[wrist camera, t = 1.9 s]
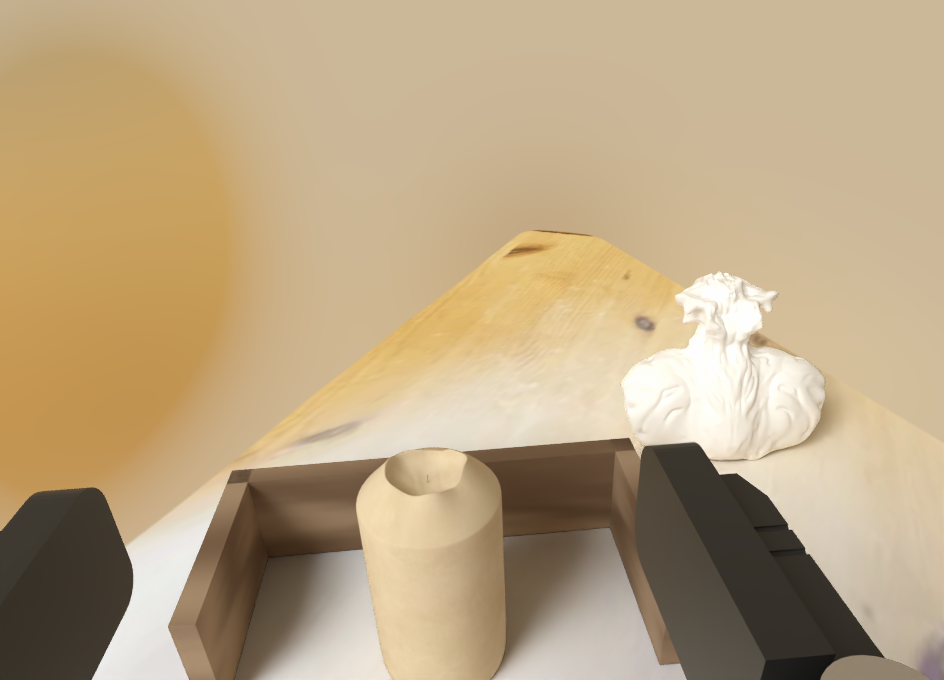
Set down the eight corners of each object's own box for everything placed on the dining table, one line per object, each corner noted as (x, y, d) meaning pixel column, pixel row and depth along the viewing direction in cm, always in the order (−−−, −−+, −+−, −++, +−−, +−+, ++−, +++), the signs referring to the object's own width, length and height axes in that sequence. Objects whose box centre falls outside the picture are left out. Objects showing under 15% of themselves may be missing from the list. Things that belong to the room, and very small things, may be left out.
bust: (800, 458, 41) (783, 290, 43) (863, 460, 34) (839, 257, 36) (613, 460, 42) (605, 295, 44) (635, 462, 35) (624, 263, 36)
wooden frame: (253, 544, 34) (232, 470, 31) (623, 512, 35) (629, 437, 32) (201, 709, 26) (167, 626, 24) (683, 662, 27) (697, 578, 24)
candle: (495, 584, 31) (487, 413, 26) (518, 691, 26) (514, 504, 21) (381, 601, 30) (352, 429, 26) (383, 714, 25) (348, 527, 21)
